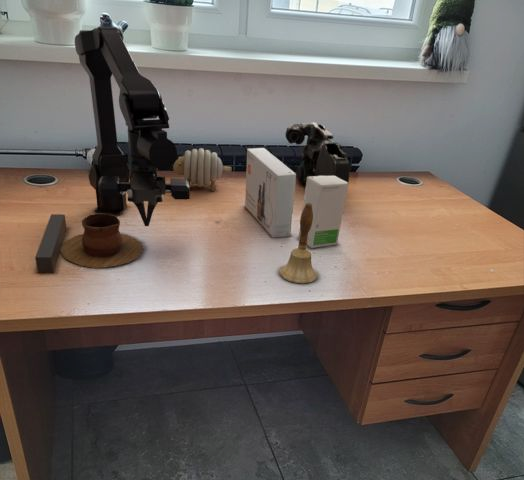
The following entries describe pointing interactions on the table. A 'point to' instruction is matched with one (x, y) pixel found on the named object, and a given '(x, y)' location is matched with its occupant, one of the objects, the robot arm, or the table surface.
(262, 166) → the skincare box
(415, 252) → the table surface
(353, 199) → the table surface
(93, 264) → the ceramic pot
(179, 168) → the toy sheep
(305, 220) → the hand bell
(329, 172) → the movie camera
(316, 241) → the cosmetic box
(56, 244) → the rail
